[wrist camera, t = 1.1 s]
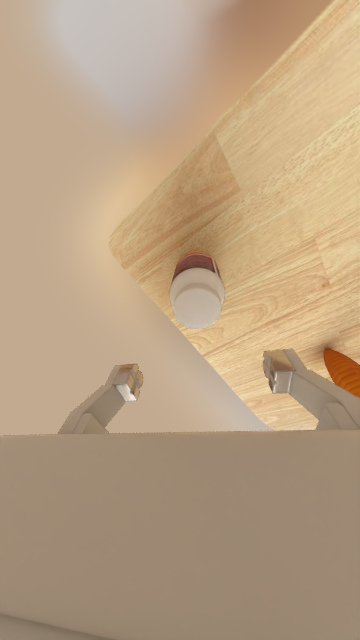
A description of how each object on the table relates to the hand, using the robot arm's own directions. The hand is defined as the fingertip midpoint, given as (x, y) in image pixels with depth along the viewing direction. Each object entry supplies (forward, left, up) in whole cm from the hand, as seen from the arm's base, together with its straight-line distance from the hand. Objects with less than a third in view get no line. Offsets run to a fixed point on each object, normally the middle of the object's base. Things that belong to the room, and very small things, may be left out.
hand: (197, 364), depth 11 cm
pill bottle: (0, 0, -18) cm, 18 cm away
